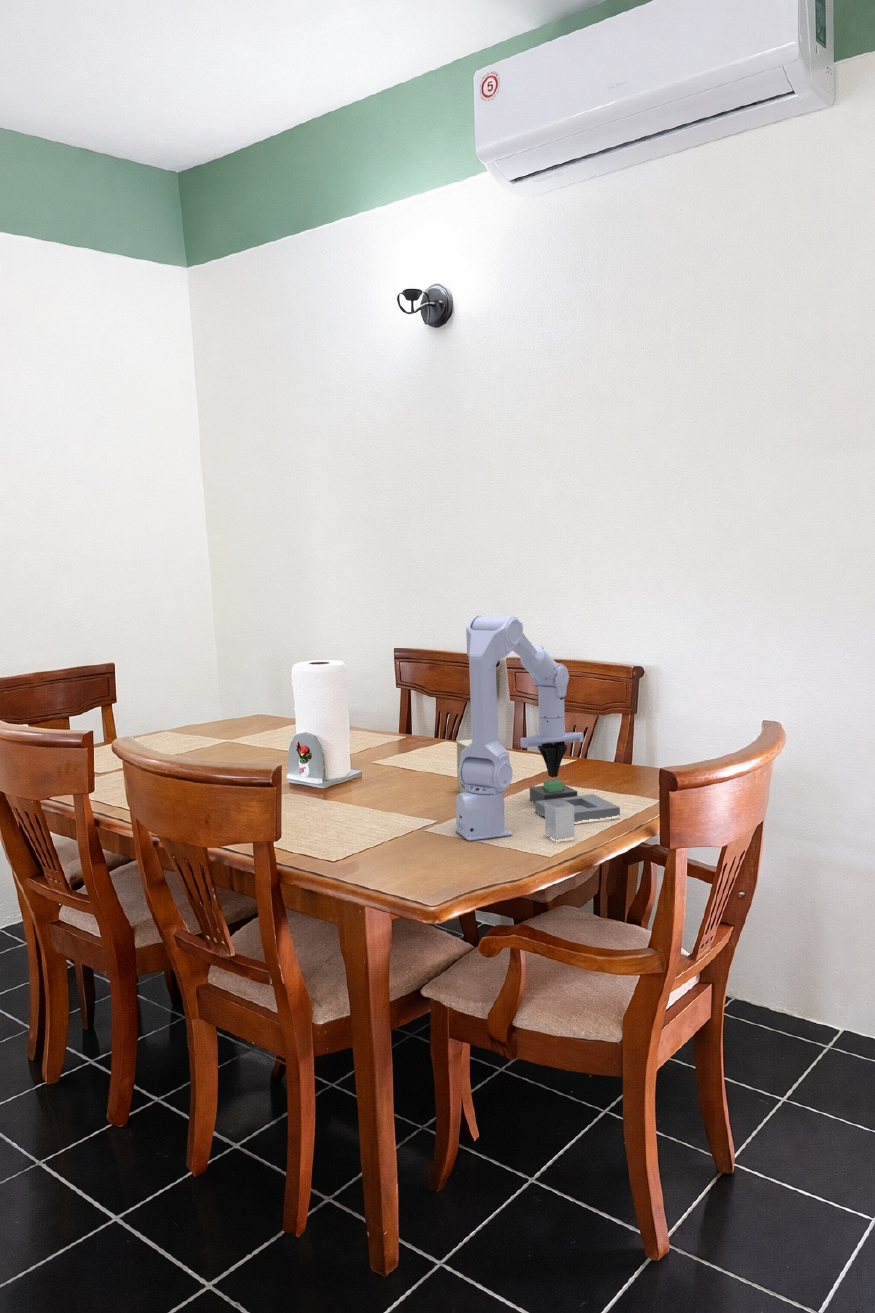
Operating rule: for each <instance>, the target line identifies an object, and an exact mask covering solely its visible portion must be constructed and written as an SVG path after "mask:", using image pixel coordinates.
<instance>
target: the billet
mask: <svg viewBox="0 0 875 1313" xmlns="http://www.w3.org/2000/svg"><path fill="white" fill-rule="evenodd" d="M544 829H545V830H544V831H545V832H544V834H546V835H548V836H549V837H552V838H553V839H555V840H559V839H565V838H570V837H575V838H576V836H575V835H576V834H575V825H574V805H572V804H570V803H568V802H567V801H565V800H555V801H547V802H545V818H544Z"/></svg>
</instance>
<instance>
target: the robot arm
mask: <svg viewBox="0 0 875 1313" xmlns="http://www.w3.org/2000/svg"><path fill="white" fill-rule="evenodd" d="M465 630H466V631H465V632H466V634H465V635H466V654H467V657H468V662H469V663H468V669H469V689H470V690H469V692H470V693H469V694H470V696H469V697H470V698H469V699H470V721H471V722H470V723H471V739H472V743H471V744H469V745H468V746H467V747H466V748H464V749H463V750H462V752H461V760H460V765H459V769H458V774H459V779H460V781H461V783H462V784H463V785H465V790H468V791H466V792H464V793H461V792H459V793H457V795H456V798H455V820H456V822H455V823H456V828H455V832H457V833H459V835H460V836H462V837H463V838H464V839H466V840H467V841H470V842H471V841H475V840H476V841H477V840H485V839H491V838H501V837H507V836H512V835H513V832H512V831H510V830H509V829H508V828H506V827H505V821H506V820H505V795H504V794H505V791H506V790H507V789H508V788H509V786H510V785H511V782H512V780H513V767H512V765H511V761H510V752H509V751H508V750H507V749H506V748H505V747H504V745H502V743H500V741H499V724H498V723H499V722H498V721H499V720H498V695H497V694H498V693H497V692H498V691H497V688H498V687H497V668H496V667H497V664H498V663H499V661H500V660H502V659H504V658H506V657H507V656H508V655H509V654H511V652H513V653H514V654H516V655H517V656H519V657H520V659H519V660H520V664H521V666H522V667H523V668H524V669H525V670H526V671H527V672H528V673H529V674H530V677H531V679H532V684H533V685H534V687H536V688H537V691H538V692H537V695H538V696H537V698H538V700H537V701H538V734H536V735H532V736H527V737H521V738H519V739H520V740H519V742H520V747H521V748H524V749H528V748H530V747H531V748H532V747H537V749H538V751H539V752H540V754H541V756H542V758H543V760H544V761H543V762H544V763H545V767H546V770H547V774H548V777H551V778H558V777H559V771H560V766H561V763H562V761H563V758H564V756H565V754H566V752H567V750H568V745H567V744H570V743H577V742H579V743H584V733H583V732H580V731H578V732H566V729H565V728H566V723H565V719H566V718H565V713H566V712H565V696H567V692H568V691H567V687H568V684H569V680H570V674H569V671H568V668H567V667H566V666H565V665H564V664H563V663H562V662H559V663H558V662H556V661H555V659H553V657H552V656H550V655H549V653H548V652H546V650H545V647H543V645H541V644H540V645H539V644H538V645H537V644H536V645H535V644H534V645H533V644H532V642H531V641H530V640H529V638H528V637H527V636H526V634H525V633H524V626H523V622H521V621H520V619H519V618H518V617H516V616H515V615H513V616H481V615H475V616H473V617H472V618H471V620H470V621H469V622H468V625H467V626H466V628H465Z"/></svg>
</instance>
